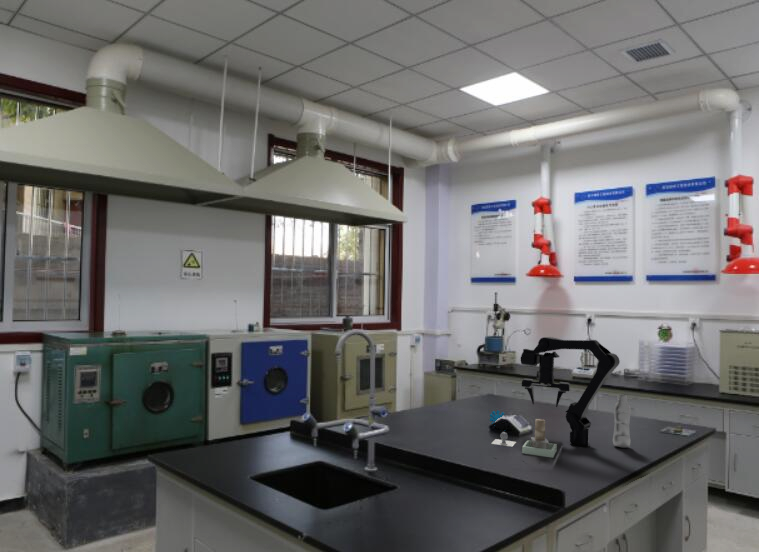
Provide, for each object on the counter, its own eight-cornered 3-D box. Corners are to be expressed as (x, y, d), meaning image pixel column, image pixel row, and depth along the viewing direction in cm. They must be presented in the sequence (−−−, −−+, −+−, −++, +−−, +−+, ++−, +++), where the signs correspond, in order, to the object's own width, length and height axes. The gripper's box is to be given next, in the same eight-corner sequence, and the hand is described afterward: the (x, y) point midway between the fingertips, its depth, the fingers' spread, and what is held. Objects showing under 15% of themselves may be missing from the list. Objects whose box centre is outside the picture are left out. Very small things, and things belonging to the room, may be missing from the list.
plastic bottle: (609, 446, 219) (610, 395, 220) (616, 444, 224) (617, 393, 225) (626, 450, 215) (627, 397, 216) (633, 447, 220) (634, 396, 221)
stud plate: (516, 445, 215) (516, 431, 216) (512, 450, 208) (512, 435, 208) (495, 442, 219) (495, 428, 219) (490, 447, 211) (491, 433, 211)
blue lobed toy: (493, 428, 237) (488, 408, 245) (487, 435, 241) (482, 415, 248) (516, 431, 240) (511, 411, 247) (510, 438, 244) (505, 418, 251)
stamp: (545, 452, 205) (546, 419, 205) (548, 456, 199) (549, 422, 200) (530, 451, 205) (531, 418, 206) (533, 455, 200) (534, 421, 200)
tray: (556, 454, 205) (556, 444, 205) (553, 461, 195) (553, 450, 195) (526, 450, 209) (527, 440, 209) (522, 457, 199) (522, 446, 200)
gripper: (571, 367, 235) (569, 405, 235) (525, 363, 242) (524, 400, 242) (569, 370, 225) (568, 409, 224) (522, 366, 232) (520, 404, 231)
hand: (544, 405), depth 231 cm, fingers open, 9 cm apart
